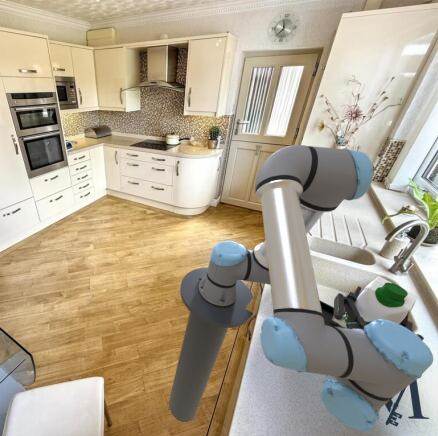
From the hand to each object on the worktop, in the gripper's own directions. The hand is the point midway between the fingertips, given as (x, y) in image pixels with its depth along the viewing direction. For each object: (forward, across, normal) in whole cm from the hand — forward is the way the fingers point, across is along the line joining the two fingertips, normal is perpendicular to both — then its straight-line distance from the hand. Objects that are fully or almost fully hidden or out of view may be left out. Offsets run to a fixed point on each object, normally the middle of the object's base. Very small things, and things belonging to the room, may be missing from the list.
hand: (379, 301), depth 62 cm
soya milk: (-5, 0, -11) cm, 12 cm away
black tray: (+9, -10, -26) cm, 29 cm away
